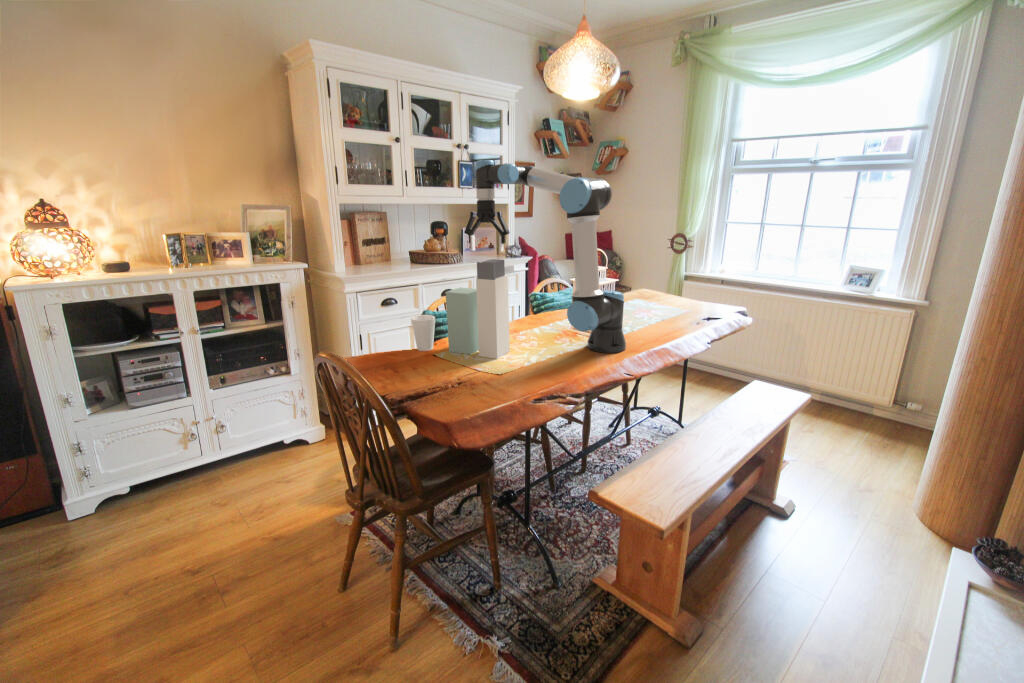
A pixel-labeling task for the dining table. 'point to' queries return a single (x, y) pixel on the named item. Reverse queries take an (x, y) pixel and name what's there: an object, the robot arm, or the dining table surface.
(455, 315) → the sage green pillar
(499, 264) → the charger
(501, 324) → the tower
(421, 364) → the dining table surface
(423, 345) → the foam cup
